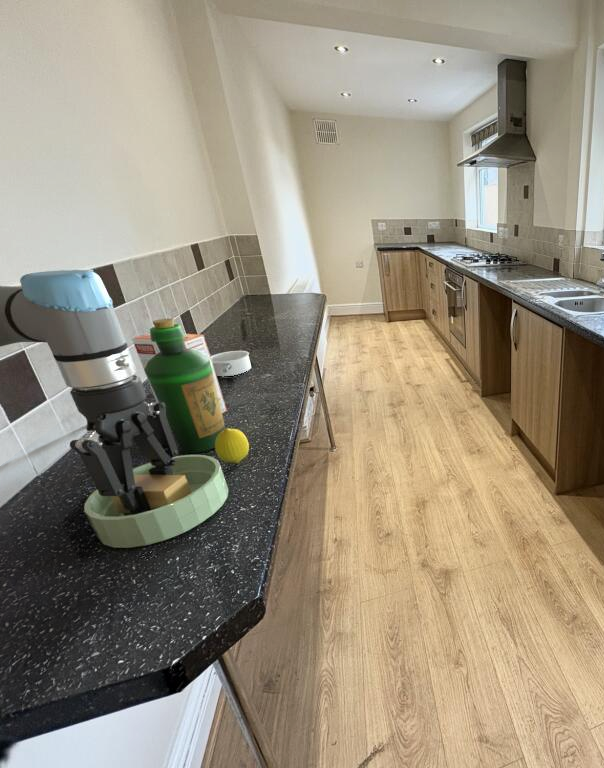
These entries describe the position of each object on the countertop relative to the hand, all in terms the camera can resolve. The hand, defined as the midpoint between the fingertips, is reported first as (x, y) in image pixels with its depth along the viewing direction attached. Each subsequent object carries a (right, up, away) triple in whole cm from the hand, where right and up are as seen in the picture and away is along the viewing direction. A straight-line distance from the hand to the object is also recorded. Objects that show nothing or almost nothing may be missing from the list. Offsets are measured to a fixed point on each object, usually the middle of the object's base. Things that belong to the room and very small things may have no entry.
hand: (158, 510), depth 68 cm
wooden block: (0, 0, 0) cm, 0 cm away
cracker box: (-22, +13, +36) cm, 44 cm away
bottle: (-9, +8, +22) cm, 25 cm away
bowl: (0, -1, +2) cm, 2 cm away
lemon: (+3, +5, +16) cm, 17 cm away
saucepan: (-29, +23, +60) cm, 70 cm away
